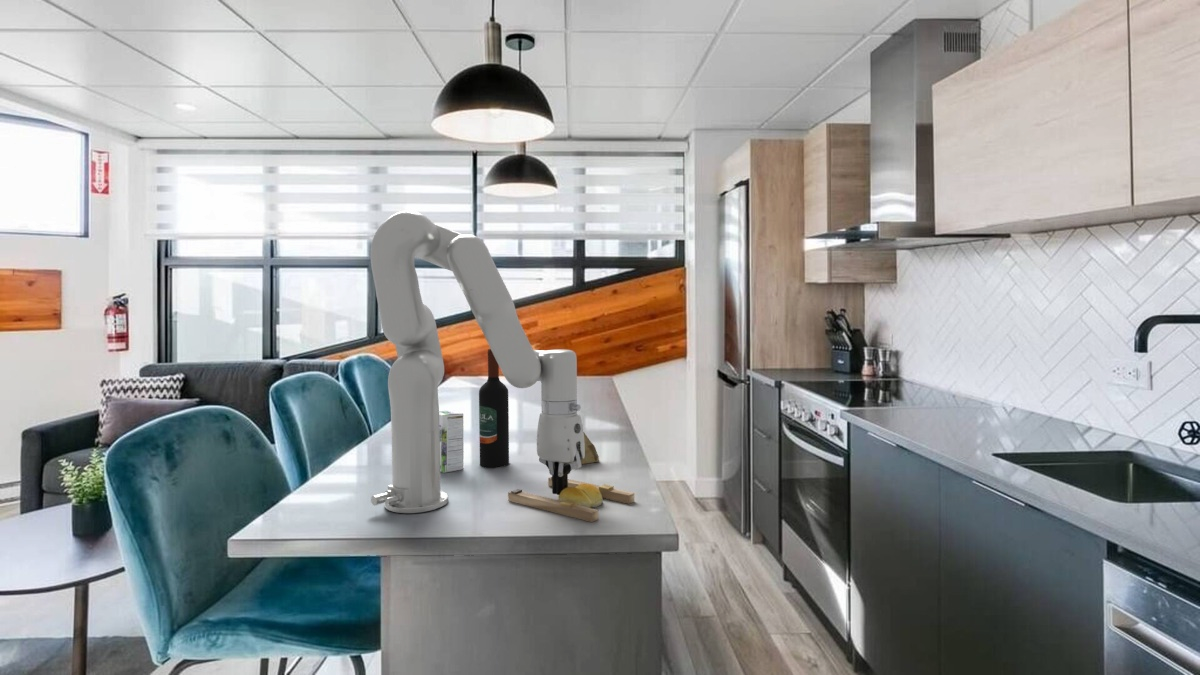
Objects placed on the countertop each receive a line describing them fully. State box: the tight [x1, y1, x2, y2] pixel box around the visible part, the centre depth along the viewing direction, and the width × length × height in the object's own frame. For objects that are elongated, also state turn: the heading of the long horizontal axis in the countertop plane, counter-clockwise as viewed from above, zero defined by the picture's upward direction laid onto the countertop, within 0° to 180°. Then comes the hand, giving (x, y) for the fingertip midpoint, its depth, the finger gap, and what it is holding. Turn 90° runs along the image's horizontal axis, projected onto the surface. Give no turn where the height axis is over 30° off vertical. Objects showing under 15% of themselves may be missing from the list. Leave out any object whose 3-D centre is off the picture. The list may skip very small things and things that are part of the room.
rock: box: [580, 432, 600, 465], centre depth 158 cm, size 11×9×10 cm
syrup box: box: [439, 410, 465, 474], centre depth 152 cm, size 6×6×14 cm
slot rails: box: [507, 476, 635, 523], centre depth 127 cm, size 15×22×2 cm
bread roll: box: [558, 482, 604, 508], centre depth 125 cm, size 8×9×4 cm
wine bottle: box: [478, 348, 510, 469], centre depth 156 cm, size 8×8×30 cm
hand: (559, 492), depth 129 cm, fingers closed
